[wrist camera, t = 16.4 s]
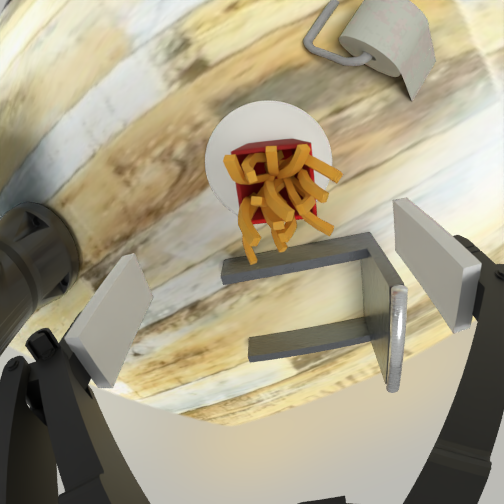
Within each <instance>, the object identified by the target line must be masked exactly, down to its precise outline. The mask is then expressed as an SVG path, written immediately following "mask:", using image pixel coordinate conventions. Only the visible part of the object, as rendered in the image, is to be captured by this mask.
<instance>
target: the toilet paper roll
mask: <svg viewBox="0 0 504 504" xmlns="http://www.w3.org/2000/svg"><path fill="white" fill-rule="evenodd" d="M338 4H339V2H338V1H337V0H330V2H329V3H328V4H327V6H326V7H325V9H324V10H323V11H322V13H321V14H320V16H319V17H318V19H317V20H316V21H315V23H314V24H313V26H312V27H311V29H310V30H309V32H308V33H307V35H306V36H305V38H304V39H303V43H304V45H305V47H306V49H307V50H309V51H310V52H311V53H313V54H316V55H318V56H321V57H324V58H326V59H329V60H331V61H334V62H336V63H339V64H341V65H346V66H359V65H363V64H366V65H368V66H369V67H371V68H373V69H375V70H377V71H379V72H381V73H383V74H386V75H388V76H392V77H398V76H400V74H402V77H403V79H404V82H405V84H406V87H408V88H407V89H408V92H409V95H410V97H411V100H412V101H413V99H414V98H415V96H416V94H417V93H418V91H419V89H420V88H421V86H422V84H423V83H424V81H425V79H426V78H427V76H428V74H429V72H430V71H431V69H432V67H433V66H434V64H435V62H436V59H435V54H434V48H433V43H432V39H431V34H430V30H429V23H428V20H427V18H426V16H425V15H424V14H423V12H422V11H421V10H420V9H419V8H418V7H417V6H416V5H415V4H413V3H412V2H411V1H409V0H364V1H363V2H362V4H361V5H360V7H359V8H358V10H357V11H356V13H355V14H354V16H353V17H352V19H351V20H350V22H349V23H348V25H347V26H346V28H345V29H344V31H343V33H342V34H341V36H340V37H339V42H340V44H341V45H342V46H343V47H344V48H345V49H346V50H347V51H348V52H349V53H350V54H351V55H353V56H354V57H350V58H345V57H342V56H340V55H337V54H335V53H332V52H329V51H326V50H324V49H321V48H318V47H315V46H314V45H313V43H312V42H313V40H314V39H315V37H316V36H317V34H318V33H319V32H320V30H321V29H322V27H323V26H324V24H325V23H326V21H327V20H328V18H329V17H330V16H331V14H332V13H333V11H334V10H335V9H336V7H337V6H338ZM426 55H427V56H426ZM416 72H417V73H416ZM413 77H414V78H413ZM410 82H411V83H410Z"/></svg>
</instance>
